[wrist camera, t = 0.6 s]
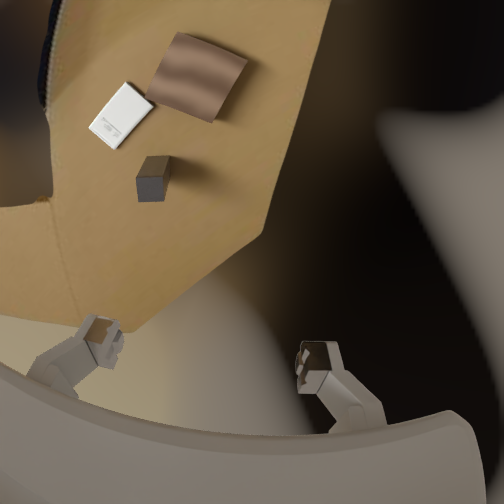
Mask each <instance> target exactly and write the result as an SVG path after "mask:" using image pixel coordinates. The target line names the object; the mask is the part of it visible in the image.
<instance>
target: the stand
mask: <svg viewBox="0 0 504 504" xmlns="http://www.w3.org/2000/svg"><path fill="white" fill-rule="evenodd" d="M247 62H248V61H247V60H245V59H243V58H241V57H239V56H237V55H235V54H233V53H230V52H228V51H226V50H224V49H221V48H219V47H217V46H214V45H212V44H209V43H207V42H204V41H202V40H199V39H197V38H194V37H191V36H188V35H186V34H183V33H180V32H177V34H176V35H175V37H174V39H173V41H172V42H171V44H170V46H169V48H168V50H167V51H166V53H165V55H164V57H163V59H162V61H161V63H160V65H159V67H158V69H157V71H156V73H155V75H154V77H153V79H152V82H151V84H150V86H149V88H148V90H147V93H146V95H145V97H144V98H145V99H148V100H151V101H154V102H157V103H160V104H163V105H165V106H168V107H171V108H174V109H176V110H179V111H182V112H184V113H187V114H189V115H192V116H195V117H197V118H199V119H202V120H204V121H207V122H209V123H212V122H213V120H214V119H215V117H216V115H217V113H218V111H219V109H220V107H221V106H222V104H223V102H224V100H225V99H226V97H227V95H228V93H229V92H230V90H231V88H232V86H233V85H234V83H235V81H236V80H237V78H238V76H239V75H240V73H241V71H242V70H243V68H244V66H245V65H246V63H247Z"/></svg>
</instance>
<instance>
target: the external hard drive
mask: <svg viewBox="0 0 504 504" xmlns="http://www.w3.org/2000/svg"><path fill="white" fill-rule="evenodd" d="M153 107H154V105H153V104H152V103H150V102H149V101H148V100H147V99H145V98H144V96H143V95H141V94H140V93H139V92H138V91H137V90H136V89H135V88H134V87H132V86H131V85H130V84H129V83H128V82H125V83H124V85H123V86H122V87H121V88H120V89H119V90H118V91H117V93H116V94H115V95H114V96H113V97H112V98H111V100H110V101H109V102H108V103H107V104H106V106H105V107H104V108H103V109H102V111H101V112H100V113H99V114H98V116H97V117H96V118H95V120H94V121H93V122H92V124H91V125H90V126H89V129H90V130H91V131H93V132H94V133H95V134H96V135H97V136H98V137H100V138H101V139H102V140H103V141H104V142H106V143H107V144H108V145H109V146H110V147H112V148H113V149H114V150H115V149H116V148H117V147H118V146H119V144H120V143H121V142H122V141H123V140H124V139H125V137H126V136H127V135H128V134H129V133H130V132H131V131H132V129H133V128H134V127H135V126H136V125H137V124H138V123H139V122H140V121H141V120H142V118H143V117H144V116H145V115H146V114H147V113H148V112H149V111H150V110H151V109H152V108H153Z"/></svg>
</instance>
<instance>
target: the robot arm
mask: <svg viewBox="0 0 504 504" xmlns="http://www.w3.org/2000/svg"><path fill="white" fill-rule="evenodd" d="M119 327H120V323H119V321H118V320H115V319H111V318H107V317H103V316H99V315H94V314H88V315H87V316H86V318H85V320H84V321H83V323H82V324H81V326H80V328H79V329H78V331H77V333H76V334H75V336H74V337H70V338H68V339H66V340H65V341H63V342H62V343H60V344H58V345H56V346H54V347H53V348H51V349H49V350H48V351H46V352H44V353H43V354H41V355H39V356H37V357H36V359H35V361H34V362H33V364H32V366H31V368H30V369H29V371H28V373H27V375H26V376H25V375H23V374H21V373H19V372H18V371H16V370H14V369H12V368H10V367H9V366H7V365H5V364H3V363H2V362H0V504H486V493H485V482H484V474H483V467H482V462H481V457H480V453H479V448H478V445H477V441H476V437H475V434H474V432H473V429H472V427H471V426H470V424H468V423H467V422H466V421H465V420H464V419H463V418H461V417H460V416H459V415H458V414H456V413H454V412H453V411H443V412H440V413H437V414H433V415H430V416H426V417H423V418H419V419H415V420H411V421H407V422H403V423H397V424H393V425H388V426H387V423H386V419H385V415H384V411H383V408H382V404H381V402H380V401H379V400H378V399H377V398H376V397H375V396H374V395H373V394H372V393H371V392H369V391H368V390H367V389H366V388H365V387H364V386H363V385H362V384H361V383H360V382H359V381H358V380H357V379H356V378H355V377H354V376H352V374H351V373H350V372H348V371H344V367H343V363H342V359H341V355H340V352H339V348H338V344H337V343H336V342H324V341H303V342H302V344H301V346H300V348H301V351H300V352H299V353H298V355H297V358H296V373H297V374H298V375H299V378H298V380H297V385H298V393H306V394H317V396H318V397H319V398H320V400H321V401H322V402H323V403H324V405H325V406H326V407H327V408H328V410H329V411H330V412H331V414H332V415H333V416H334V417H335V419H336V420H337V423H336V424H335V425H334V426H333V427H332V428H331V429H330V430H329V434H317V435H298V436H297V435H293V436H268V435H244V434H231V433H220V432H211V431H203V430H196V429H189V428H183V427H178V426H172V425H166V424H162V423H157V422H153V421H148V420H144V419H140V418H136V417H132V416H128V415H124V414H121V413H118V412H114V411H111V410H108V409H104V408H101V407H99V406H95V405H93V404H90V403H87V402H84V401H82V400H79V399H78V398H79V397H78V394H77V393H76V392H75V390H74V389H73V387H74V386H75V385H77V384H78V383H79V382H80V381H81V380H83V379H84V378H85V377H86V376H87V375H88V374H90V373H91V372H92V371H93V370H95V369H96V368H97V367H98V366H100V367H104V368H108V369H114V367H115V364H116V362H117V359H118V358H117V355H116V354H118V353H119V352H121V350H122V348H123V343H124V336H123V333H122V331H121V330H120V329H119Z"/></svg>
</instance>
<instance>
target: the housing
mask: <svg viewBox="0 0 504 504" xmlns="http://www.w3.org/2000/svg"><path fill="white" fill-rule="evenodd" d="M169 179H170V156H147V157H146V159H145V161H144V163H143V165H142V167H141V169H140V171H139V173H138V175H137V177H136V185H137V194H138V202H157V201H164V200H165V196H166V191H167V187H168V183H169Z"/></svg>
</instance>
